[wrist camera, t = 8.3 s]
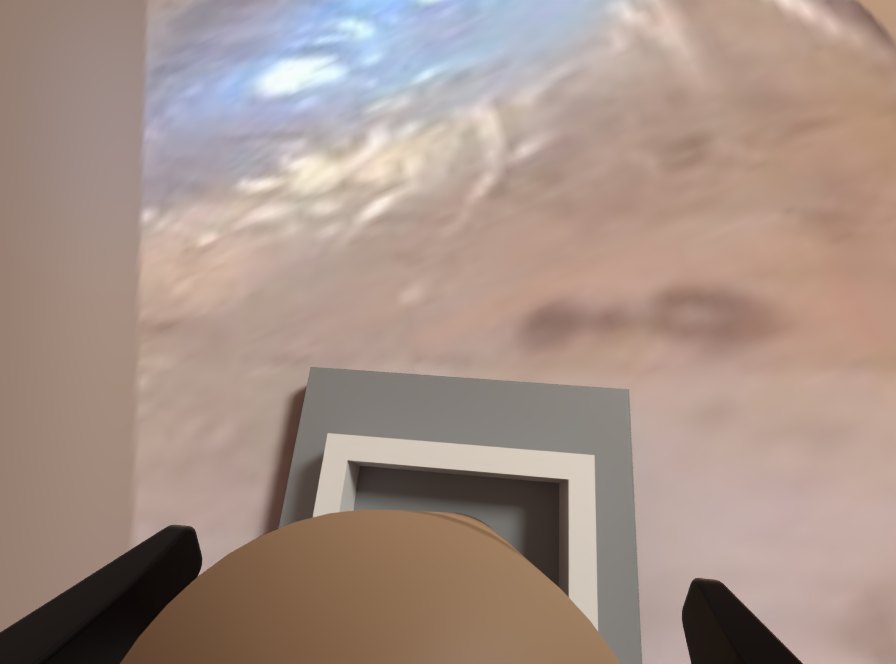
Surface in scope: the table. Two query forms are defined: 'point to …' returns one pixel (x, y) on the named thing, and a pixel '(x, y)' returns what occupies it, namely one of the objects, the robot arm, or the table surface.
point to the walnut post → (373, 600)
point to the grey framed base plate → (485, 472)
